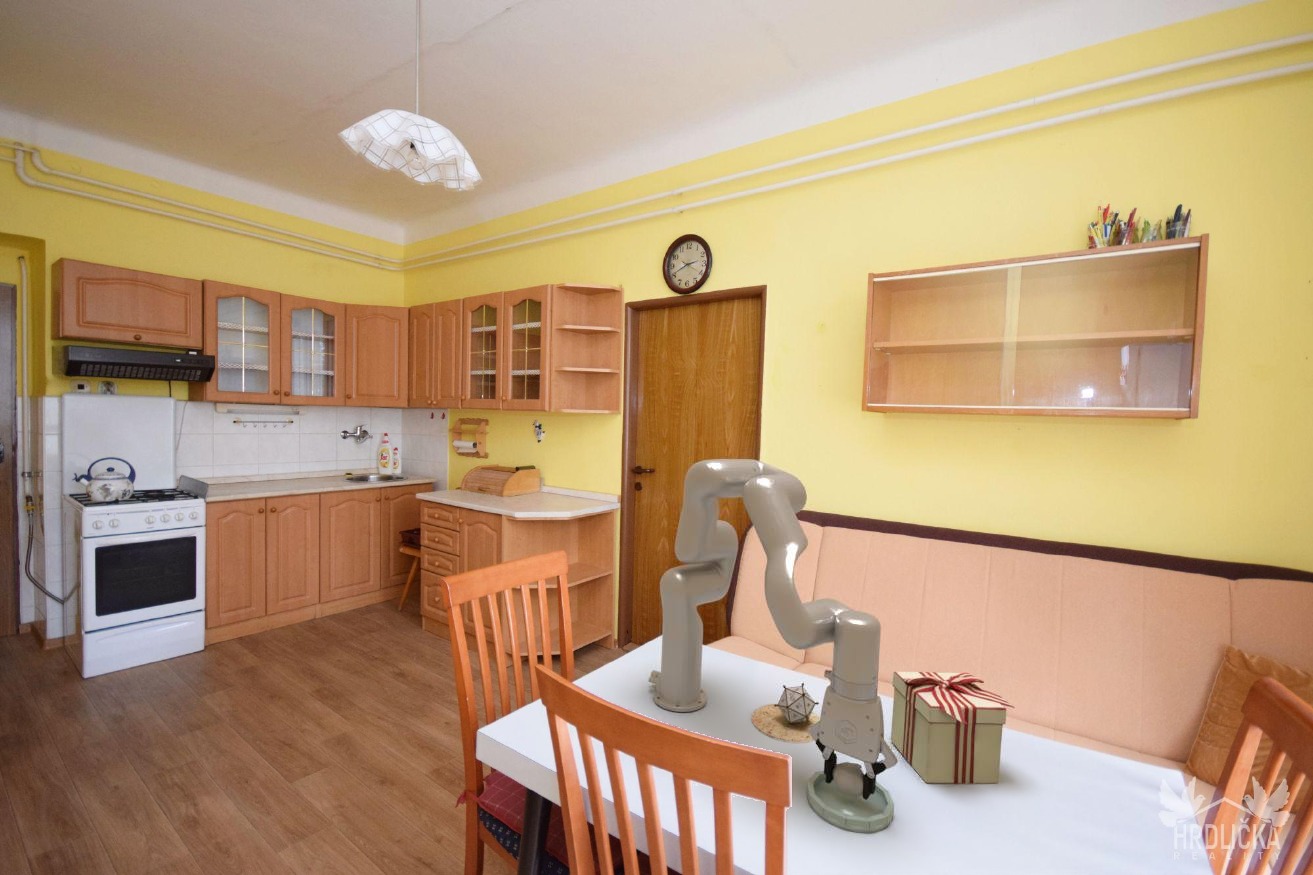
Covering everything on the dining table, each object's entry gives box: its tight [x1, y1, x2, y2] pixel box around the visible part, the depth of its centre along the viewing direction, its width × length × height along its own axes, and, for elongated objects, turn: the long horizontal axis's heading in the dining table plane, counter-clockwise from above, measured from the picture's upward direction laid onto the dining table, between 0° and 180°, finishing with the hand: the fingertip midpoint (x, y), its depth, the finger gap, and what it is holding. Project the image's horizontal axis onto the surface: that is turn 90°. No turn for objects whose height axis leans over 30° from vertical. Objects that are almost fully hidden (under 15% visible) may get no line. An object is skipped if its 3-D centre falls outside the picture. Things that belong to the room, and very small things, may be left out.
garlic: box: [832, 761, 865, 797], centre depth 100 cm, size 6×5×5 cm
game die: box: [773, 682, 820, 726], centre depth 128 cm, size 9×8×10 cm
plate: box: [806, 769, 895, 834], centre depth 100 cm, size 14×14×2 cm
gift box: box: [890, 671, 1016, 785], centre depth 113 cm, size 17×18×17 cm
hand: (848, 786), depth 101 cm, fingers closed on garlic, 5 cm apart
